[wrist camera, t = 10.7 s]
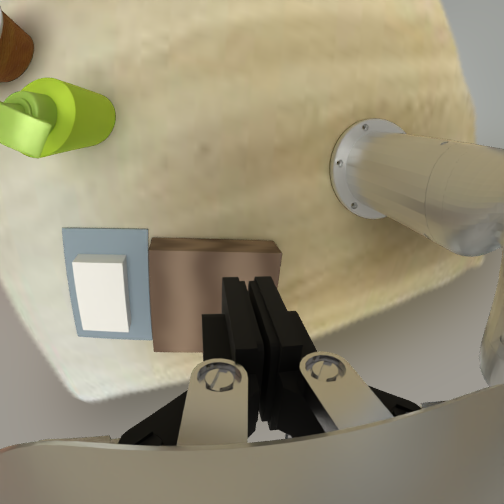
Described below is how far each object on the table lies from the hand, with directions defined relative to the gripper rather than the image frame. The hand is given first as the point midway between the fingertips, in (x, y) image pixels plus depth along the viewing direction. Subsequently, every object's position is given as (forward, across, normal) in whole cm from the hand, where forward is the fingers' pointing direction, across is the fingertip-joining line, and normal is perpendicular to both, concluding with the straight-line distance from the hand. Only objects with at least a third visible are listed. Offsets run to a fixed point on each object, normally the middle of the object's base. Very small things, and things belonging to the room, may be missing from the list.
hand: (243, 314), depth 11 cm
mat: (+25, +13, +12) cm, 31 cm away
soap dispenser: (+26, +13, -7) cm, 30 cm away
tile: (+22, +13, +12) cm, 29 cm away
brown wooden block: (+26, 0, +13) cm, 29 cm away
